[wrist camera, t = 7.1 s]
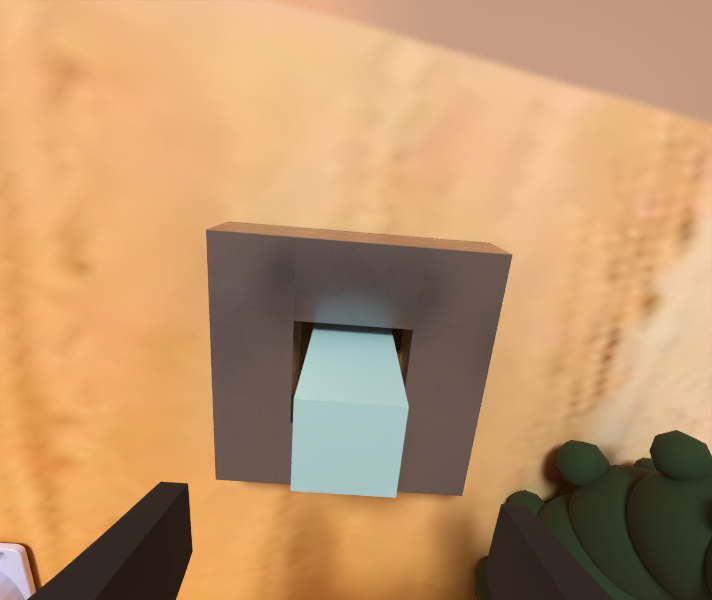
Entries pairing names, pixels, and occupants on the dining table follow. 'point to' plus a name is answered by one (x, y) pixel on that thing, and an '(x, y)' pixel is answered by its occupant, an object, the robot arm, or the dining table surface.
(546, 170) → the dining table surface
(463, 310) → the port block
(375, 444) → the plug
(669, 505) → the toy figurine
